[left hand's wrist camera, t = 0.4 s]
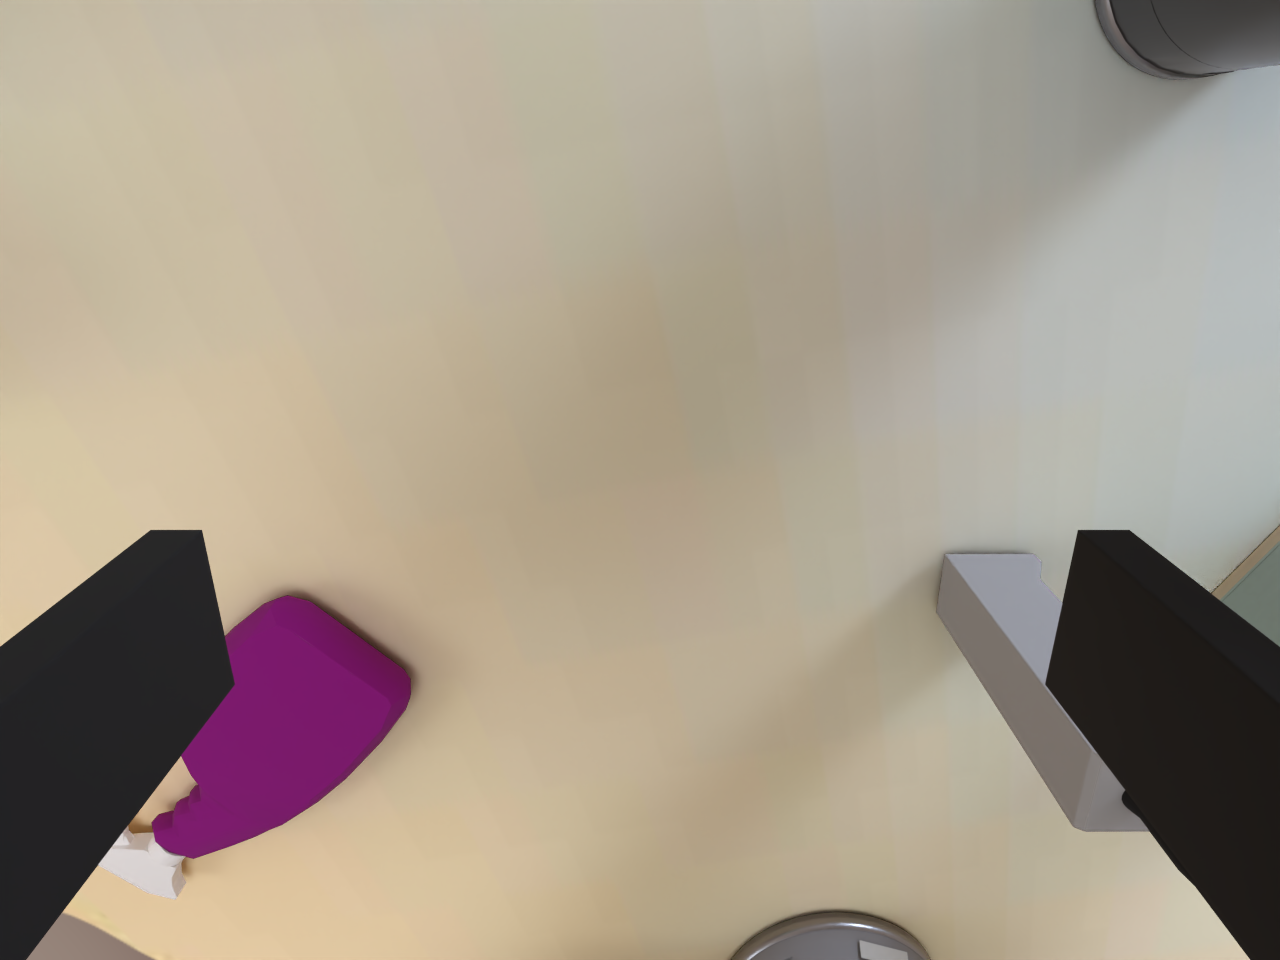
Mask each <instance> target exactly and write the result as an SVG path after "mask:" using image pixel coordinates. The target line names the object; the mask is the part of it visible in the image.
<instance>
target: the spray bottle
mask: <svg viewBox="0 0 1280 960" xmlns="http://www.w3.org/2000/svg"><path fill="white" fill-rule="evenodd" d="M225 640H226V645H227V649H228V654H229V659H230V663H231V668H232V673H233V677H234V682H235V685H234V686H233V688H232V689H231V690H230V692H229V693H228V694H227V696H226V697H225V698H224V700H223V701H222V702H221V704H220V705H219V706H218V708H217V709H216V710H215V711H214V713H213V714H212V715H211V717H210V718H209V719H208V721H207V722H206V723H205V725H204V726H203V727H202V729H201V730H200V731H199V733H198V734H197V735H196V737H195V738H194V739H193V740H192V742H191V743H190V744H189V746H188V747H187V748H186V750H185V751H184V752H183V754H182V755H181V757H182V759H183V760H184V762H185V764H186V766H187V768H188V770H189V772H190V774H191V776H192V777H193V778H194V780H195V781H196V782H197V783H198V785H196V786H195V787H194V788H193V789H192V791H191V792H190V796H188V797H185V798H183V799H181V800H180V801H178V802H177V804H176V806H175V809H174V811H169V812H165V813H162V814H159V815H158V816H157V817H156V818H155V819H154V820H153V821H152V827H153V832H150V833H135V834H132V833H131V832H130V831H129V828H128V826H127V827H126V829H125V830H124V831H123V833H122V834H121V835H120V837H119V838H118V839H117V841H116V842H115V843H114V845H113V846H112V847H111V849H110V850H109V851H108V852H107V854H106V855H105V856H104V858H103V859H102V860H101V862H100V863H99V864H98V866H100V867H102V868H104V869H106V870H107V871H109V872H111V873H113V874H115V875H116V876H118V877H120V878H122V879H123V880H125V881H127V882H129V883H131V884H132V885H134V886H136V887H138V888H140V889H141V890H143V891H145V892H147V893H150V894H154V895H158V896H162V897H166V898H171V899H176V898H177V897H178V895H179V894H180V892H181V890H182V889H183V887H184V886H185V884H186V881H185V878H184V876H183V874H182V867H181V863H182V861H183V859H184V858H185V857H189V858H193V859H194V858H197V857H200V856H203V855H206V854H209V853H212V852H215V851H218V850H221V849H224V848H226V847H229V846H232V845H235V844H237V843H240V842H243V841H245V840H248V839H250V838H253V837H256V836H258V835H260V834H262V833H264V832H266V831H268V830H270V829H273V828H275V827H278V826H280V825H283V824H284V823H286V822H287V821H289V820H290V819H292V818H294V817H295V816H297V815H298V814H300V813H301V812H303V811H304V810H306V809H308V808H309V807H311V806H312V805H314V804H315V803H317V802H318V801H319V800H321V799H322V798H323V797H324V796H326V795H327V794H328V793H329V792H330V791H332V790H333V789H334V788H335V787H336V786H338V785H339V784H340V783H341V782H343V781H344V780H345V779H346V778H347V777H348V776H349V775H350V774H351V773H352V772H353V771H354V770H355V769H356V768H357V767H358V766H359V765H360V764H361V762H362V761H363V760H364V759H365V758H366V757H367V756H368V755H369V754H370V753H371V752H372V751H373V750H374V749H375V748H376V747H377V746H378V745H379V744H380V743H381V742H382V740H383V739H384V738H385V736H386V735H387V734H388V732H389V731H390V730H391V728H392V727H393V726H394V724H395V723H396V721H397V720H398V719H399V717H400V716H401V715H402V713H403V712H404V711H405V709H406V707H407V705H408V702H409V699H410V695H411V682H410V678H409V676H408V675H407V673H406V672H405V670H404V669H403V668H401V667H400V666H399V665H397V664H396V663H394V662H393V661H392V660H390V659H389V658H388V657H386V656H385V655H383V654H382V653H381V652H379V651H378V650H377V649H375V648H374V647H372V646H371V645H370V644H368V643H367V642H366V641H364V640H363V639H361V638H360V637H359V636H357V635H356V634H355V633H353V632H352V631H350V630H349V629H348V628H346V627H345V626H344V625H342V624H341V623H339V622H338V621H337V620H335V619H334V618H332V617H331V616H330V615H328V614H327V613H326V612H324V611H323V610H321V609H320V608H319V607H317V606H316V605H315V604H313V603H312V602H310V601H307V600H303V599H299V598H295V597H292V596H288V595H287V596H284V597H281V598H278V599H275V600H272V601H270V602H267V603H265V604H263V605H262V606H261V607H259V608H258V609H257V610H256V611H254V612H253V613H252V614H250V615H249V616H248V617H247V618H245V619H244V620H243V621H242V622H240V623H239V624H238V625H237V626H235V627H234V628H233V629H232V630H231V631H230V632H229V633H228V634H227V635H226V636H225Z"/></svg>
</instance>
